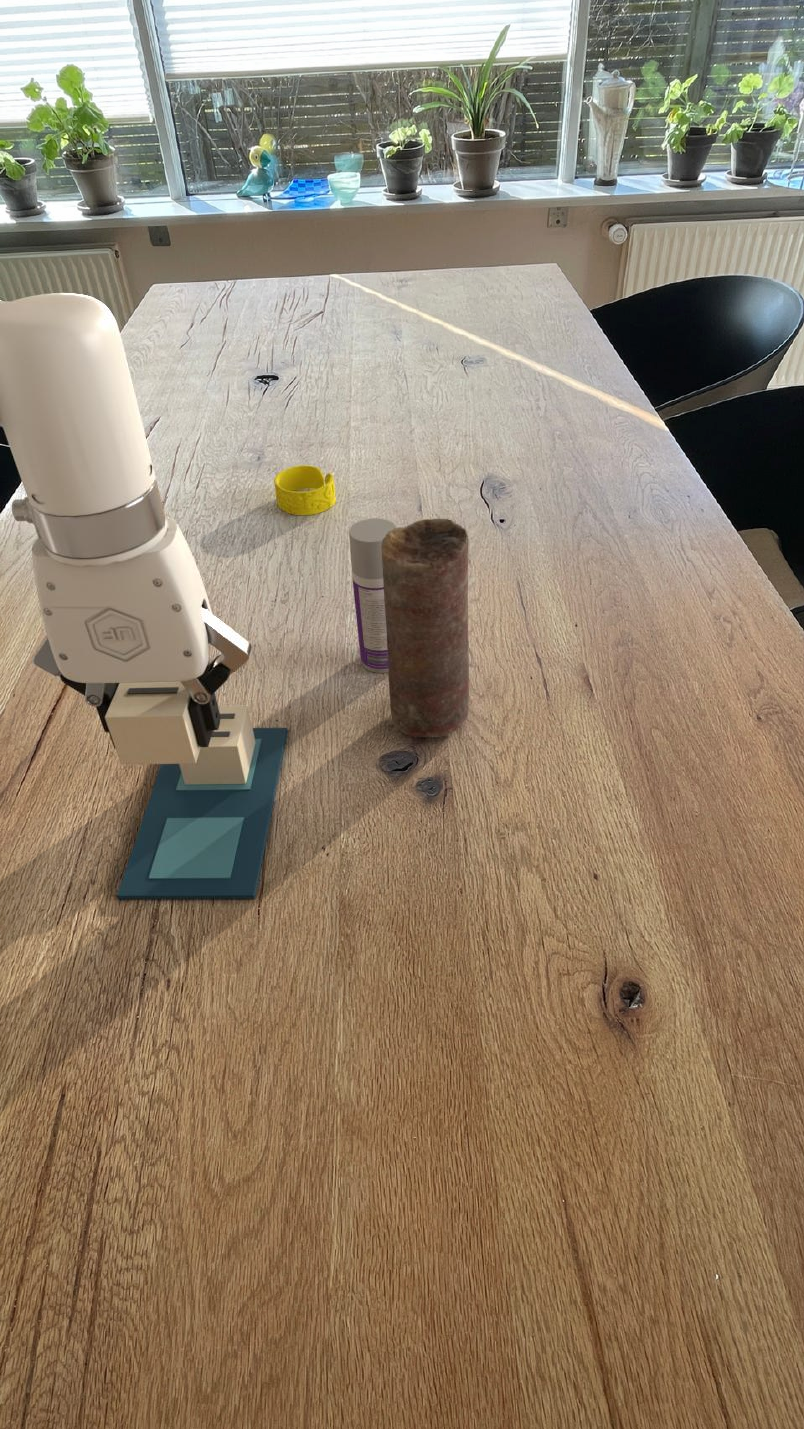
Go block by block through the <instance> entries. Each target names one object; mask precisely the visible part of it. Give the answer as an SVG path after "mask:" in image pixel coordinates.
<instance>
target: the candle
mask: <svg viewBox="0 0 804 1429" xmlns="http://www.w3.org/2000/svg"><path fill="white" fill-rule="evenodd" d="M381 552H382V567H383V584H384V603H385V616H386V629H387V652H388V671H389V672H388V690H389V692H388V693H389V706H390V707H389V708H390V716H391V718H392V721H393V723H394V724H395V725H396V728H397V729H398V730H399V731H400V732H401V733H403V734H404V735H408V736H410V737H414V738H421V737H422V738H439V737H447V736H449V735H452V733H454V732H455V731H457V730H458V729H459V728H461V727H462V726H464V725H465V724H466V723H467V719H468V717H469V712H470V711H469V707H470V706H469V703H470V672H469V671H470V670H469V665H470V664H469V663H470V662H469V536H468V533H467V530H466V528H464V527H463V526H462V525H461V524H458V523H456V522H455V521H453V520H452V519H449V518H432V519H430V518H429V519H428V518H424V519H420V520H415V521H413V522H411V523H410V524H407V526H405V527H400V526H399V527H396V528H394V529H393V530H391V531H389V532H388V533H387V534H386V536H385V537H384V538H383V541H382V546H381Z"/></svg>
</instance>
